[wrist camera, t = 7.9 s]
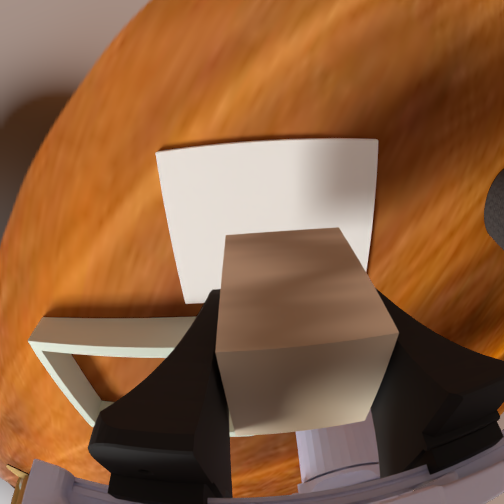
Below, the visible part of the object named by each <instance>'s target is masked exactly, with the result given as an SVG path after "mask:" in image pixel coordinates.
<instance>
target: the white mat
mask: <svg viewBox="0 0 504 504" xmlns="http://www.w3.org/2000/svg"><path fill="white" fill-rule="evenodd" d="M156 159H157V165H158V171H159V177H160V183H161V189H162V195H163V200H164V206H165V211H166V216H167V222H168V227H169V232H170V237H171V242H172V246H173V251H174V256H175V260H176V265H177V269H178V274H179V278H180V283H181V287H182V291H183V295H184V299H185V303H186V304H192V303H205V301H206V299H207V297H208V295H209V293H210V291H211V290H213V289H221V279H222V268H223V257H224V247H225V237H226V235H234V234H247V233H261V232H275V231H290V230H305V229H320V228H336V227H339V228H340V230H341V232H342V233H343V235H344V236H345V238H346V240H347V241H348V243H349V245H350V246H351V248H352V249H353V251H354V253H355V254H356V256H357V258H358V259H359V261H360V263H361V265H362V266H363V268H364V270H365V271H366V270H367V263H368V256H369V249H370V241H371V232H372V224H373V214H374V203H375V192H376V178H377V161H378V140H377V139H360V138H307V139H278V140H260V141H245V142H232V143H221V144H211V145H202V146H193V147H185V148H177V149H170V150H163V151H157V152H156Z"/></svg>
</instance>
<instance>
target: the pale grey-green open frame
mask: <svg viewBox="0 0 504 504" xmlns="http://www.w3.org/2000/svg"><path fill="white" fill-rule="evenodd" d="M196 317H197V316H194V317H165V318H58V317H42V319H41V320H40V322H39V323H38V325H37V326H36V328H35V330H34V331H33V333H32V334H31V336H30V338H29V339H28V342H29V344H30V345H31V347H32V349H33V350H34V352H35V353H36V355H37V356H38V358H39V359H40V361H41V362H42V364H43V365H44V367H45V368H46V370H47V371H48V372H49V374H50V375H51V377H52V378H53V379H54V381H55V382H56V384H57V385H58V386H59V388H60V389H61V390H62V392H63V393H64V394H65V395H66V397H67V398H68V399H69V401H70V402H71V403H72V404H73V406H74V407H75V408H76V409H77V410H78V412H79V413H80V414H81V415H82V416H83V418H84V419H85V420H86V421H87V422H88V423H89V424H90V426H92V427H94V425H95V422H96V420H97V417H98V415H99V413H100V411H102V410H103V409H105V408H107V407H108V406H110V405H111V404H113V403H114V402H109V401H102V400H101V399H100V397H99V396H98V394H97V393H96V392H95V390H94V389H93V387H92V386H91V384H90V383H89V381H88V380H87V378H86V377H85V375H84V374H83V372H82V371H81V369H80V367H79V366H78V364H77V363H76V361H75V359H74V358H73V356H72V354H82V355H96V356H114V357H142V358H167V356H168V355H169V354H170V353H171V352H172V351H173V349H174V348H175V347H176V346H177V344H178V343H179V342H180V340H181V339H182V338H183V336H184V335H185V333H186V332H187V331H188V329H189V328H190V326H191V325H192V323H193V322H194V320H195V318H196ZM229 431H230V437H237V436H236V434H235V431H234V427H233V423H232V419H231V415H230V411H229ZM241 436H253V435H241Z"/></svg>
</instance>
